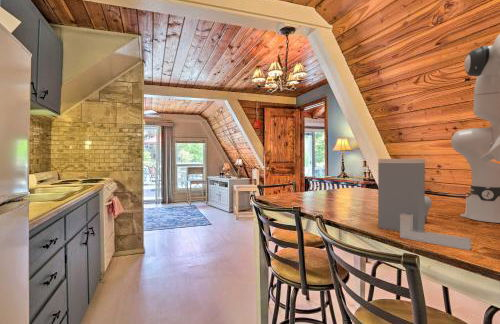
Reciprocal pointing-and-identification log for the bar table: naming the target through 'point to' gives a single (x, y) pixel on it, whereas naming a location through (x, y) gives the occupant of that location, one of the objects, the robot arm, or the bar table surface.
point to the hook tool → (430, 235)
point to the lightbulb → (427, 206)
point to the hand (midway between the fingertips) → (486, 153)
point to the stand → (401, 192)
